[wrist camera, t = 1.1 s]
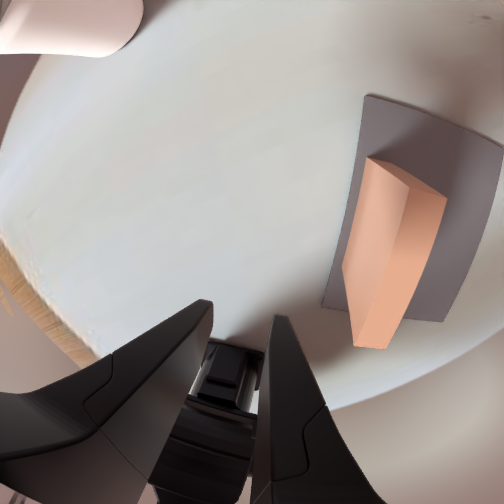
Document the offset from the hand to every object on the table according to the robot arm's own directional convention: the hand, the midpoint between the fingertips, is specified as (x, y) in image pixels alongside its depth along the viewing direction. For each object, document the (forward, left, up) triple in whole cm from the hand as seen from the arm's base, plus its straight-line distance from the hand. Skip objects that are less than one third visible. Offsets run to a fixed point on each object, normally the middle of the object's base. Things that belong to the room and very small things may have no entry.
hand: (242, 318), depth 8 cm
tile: (0, -6, -12) cm, 13 cm away
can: (+14, +14, -12) cm, 24 cm away
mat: (0, -11, -12) cm, 16 cm away
